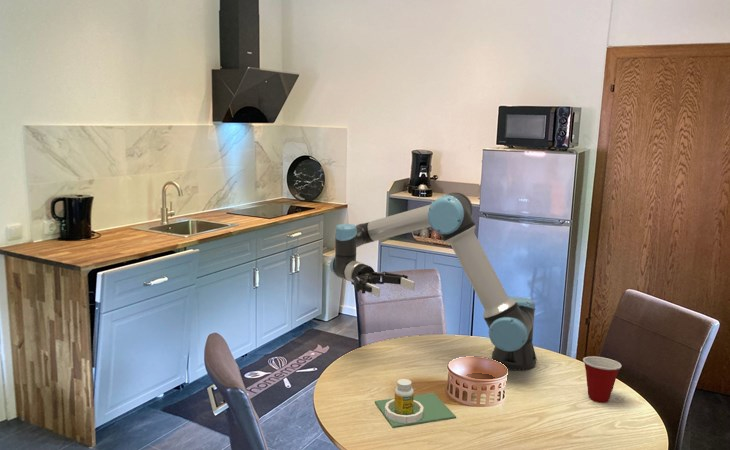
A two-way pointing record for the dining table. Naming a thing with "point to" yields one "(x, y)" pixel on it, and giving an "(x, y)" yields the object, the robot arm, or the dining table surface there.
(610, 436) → the dining table surface
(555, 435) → the dining table surface
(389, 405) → the segmented ring wall
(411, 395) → the supplement bottle
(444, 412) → the putting mat
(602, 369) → the plastic cup
